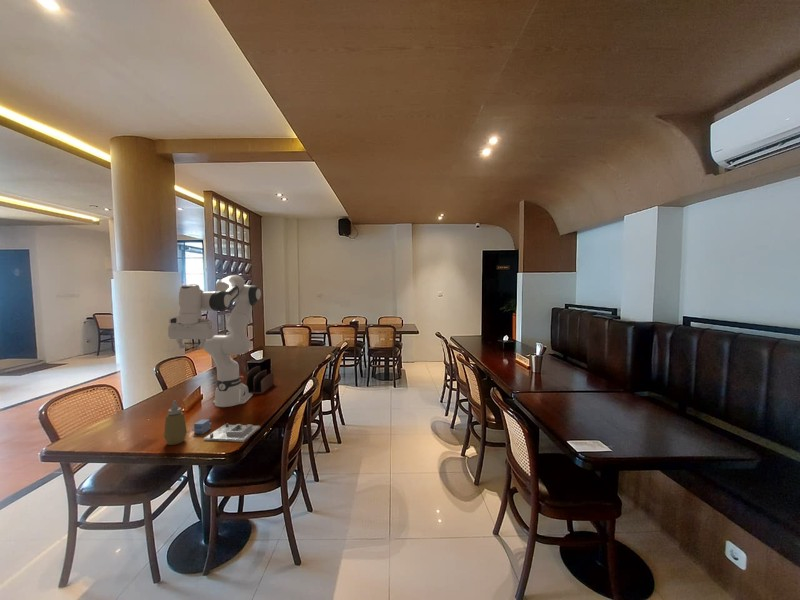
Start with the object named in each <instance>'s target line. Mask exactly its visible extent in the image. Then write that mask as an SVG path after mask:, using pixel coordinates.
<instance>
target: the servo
mask: <svg viewBox="0 0 800 600" xmlns="http://www.w3.org/2000/svg"><path fill="white" fill-rule="evenodd" d="M210 420H211V419H204V418H203V419H200V420H198V421H196V422H194V424H193V427H194V428H192V431H193V432H194V434H197V435H198V434H200V435H203V434H205V433H206V432H208V431H209V430H211V425H212V422H210Z"/></svg>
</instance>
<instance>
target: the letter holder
mask: <svg viewBox="0 0 800 600" xmlns="http://www.w3.org/2000/svg"><path fill="white" fill-rule="evenodd" d="M267 372H268V371H267V369H264V370H261V365H256V366H254V367H252V368H251V369H250V370H248V371H247V373H245V385H246V386H247V387H248V393H252V394H253V395H262V394H263V393H264V392H266V391H267V390H269V389H270V388H271V387H272V386H273V384H274V383H275V382H274V381H275V379H274V373H267Z"/></svg>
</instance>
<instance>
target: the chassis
mask: <svg viewBox="0 0 800 600" xmlns="http://www.w3.org/2000/svg"><path fill="white" fill-rule="evenodd" d="M260 429H261V425H253V424H250V423H249V424H246V425H245V424H244V425H243V424H242V423H237V424H229V423H228V422H227V423H225V424H223V425H221V426H220V427H218V428H217V429H215V430H214V431H212V432H210V434H208V435H207V436H205V437H204V438H203V441H209V442H211V441H212V442H235V443H236V442H237V443H239V442H240V443H244V442H246V441H247V440H248V439H250V437H252V435H254V434H255V433H256V432H257V431H258V430H260Z"/></svg>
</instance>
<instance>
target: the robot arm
mask: <svg viewBox="0 0 800 600" xmlns="http://www.w3.org/2000/svg"><path fill="white" fill-rule="evenodd" d="M245 282H246V281H245V279H244V278H243V277H242V276H241V275H238V274H233V275H232V274H231V275H227V276H225V277H223V278H221V279H219V280H218V281H217V283H215V291H209V290H208V291H204V290H202V289H201V288H200V285H199V284H195V283H192V284H184V285H182V286H180V288H179V294H178V305H179V312H178V314H179V315H177V316H174V317H171V318H168V323H169V325H168V328H167V337H168V338H169V339H170V340H176V343H177V344H178V348H179V349H180V350H181V349H183V350H184V349H185V348H186V347H185V343H183V340H199V342H200V343H199V344H198V345H197V349H198V350H202V349H204V351H205V353H207V354H208V355H209V356H210V357H211V358H212V359H213V362H214V363H215V366H216V375H217V376H216V382H215V383H216V388H215V392H214V399H213V401H212V403H213V404H214V406H215V407H217V408H227V407H233V406H238V405H243V404H245V403H247V402H248V401H249V400H250V399H251V398H252V396H253V395H254V394H252V393H248V387H247V386H246V384H244V383H243V382H242V380H244V375H240V365H239V363H238V362H237V361H236V360H235V359H233V358H232V356H231V355H243V354H247V353H248V352H249V351H250V349H251V347H252V342H251V339H250V338H249V336H248V335H247V334H246V331H247V330H246V329H247V327H248V324H249V322H250V319H251V317H252V316H251V315H252V312H253V306H255V305H256V304H257V303H258V302H259V301H260V299H261V298H262V290H261V288H260V287H259V286H258V285H254V284H252V285H250V284H245ZM231 303H236V305H235V306H234V307H233V309H232V311H231V312H230V314H229V316H228V318H227V320H226V322H225V328H226V330H227V331H228V333H229V334H214V330H213V323H212V321H211V320H210V319H207V318H206V319H204V318H202V314H203V313H202V312H225V311H226V310H227V309H228V308H229V307H230V306H231V305H230V304H231Z"/></svg>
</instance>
